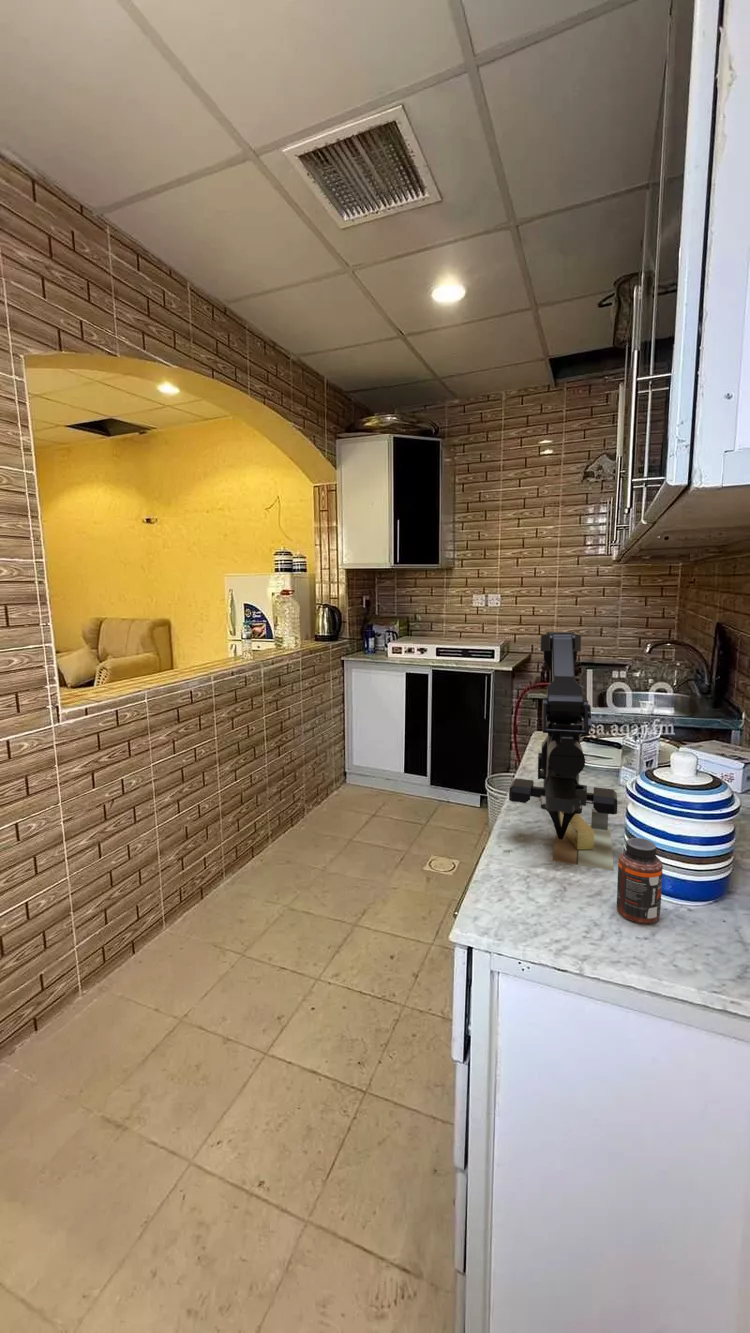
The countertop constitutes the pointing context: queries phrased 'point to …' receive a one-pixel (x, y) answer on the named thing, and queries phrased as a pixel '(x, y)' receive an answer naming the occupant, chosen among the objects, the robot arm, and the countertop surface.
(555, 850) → the door board
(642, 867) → the supplement bottle
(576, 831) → the latch bar
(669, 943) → the countertop surface
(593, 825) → the stop block
